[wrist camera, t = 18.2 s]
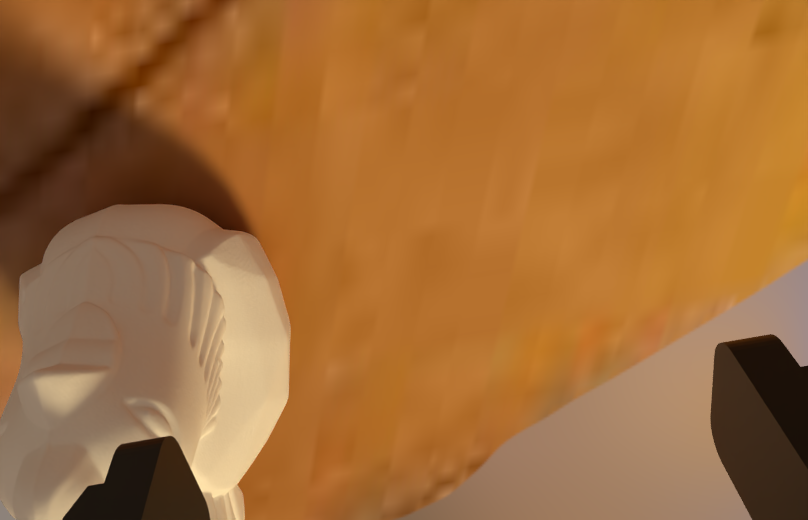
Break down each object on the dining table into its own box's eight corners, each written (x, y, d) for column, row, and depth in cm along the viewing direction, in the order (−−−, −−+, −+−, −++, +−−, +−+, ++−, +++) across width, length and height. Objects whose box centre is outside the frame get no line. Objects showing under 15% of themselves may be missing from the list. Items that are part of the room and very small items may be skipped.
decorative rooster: (29, 160, 47) (-225, 476, 26) (291, 165, 48) (249, 470, 27) (95, 452, 60) (-38, 816, 39) (299, 450, 62) (275, 801, 41)
